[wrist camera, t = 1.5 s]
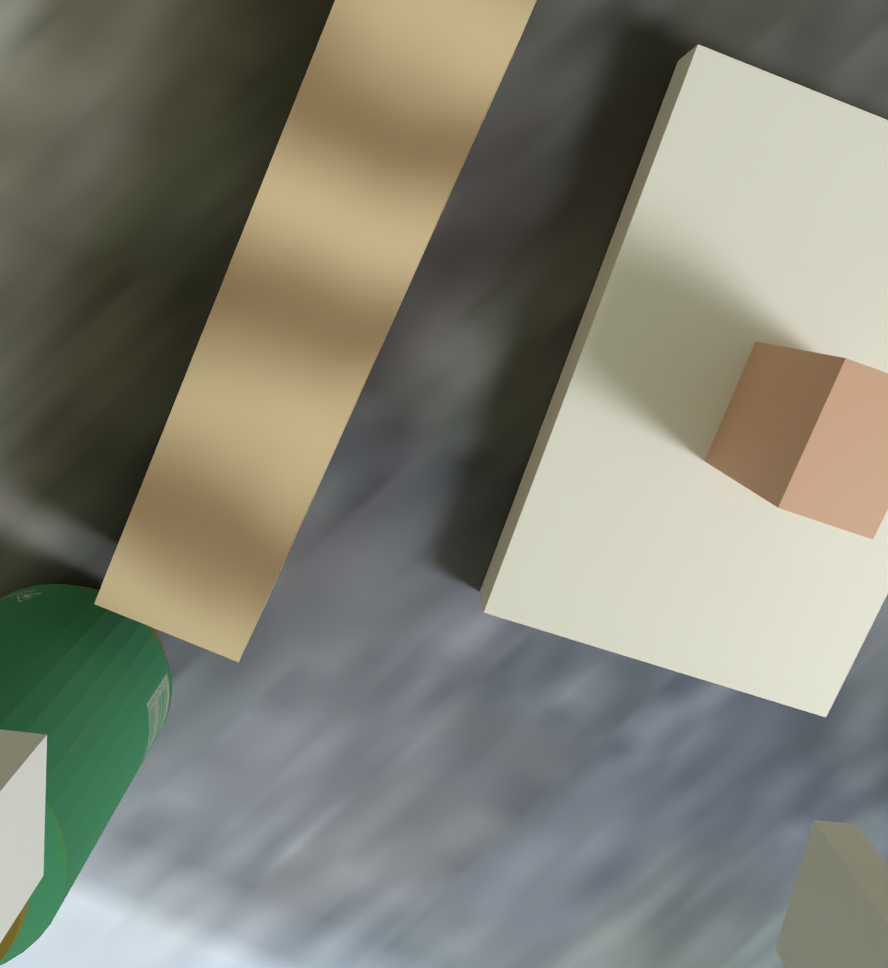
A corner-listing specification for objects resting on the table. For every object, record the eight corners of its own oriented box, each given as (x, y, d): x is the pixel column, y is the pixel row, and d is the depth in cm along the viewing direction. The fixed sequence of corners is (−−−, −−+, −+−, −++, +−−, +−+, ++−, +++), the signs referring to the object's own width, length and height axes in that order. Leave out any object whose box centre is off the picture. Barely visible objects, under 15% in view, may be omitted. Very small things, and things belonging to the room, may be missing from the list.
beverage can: (10, 776, 33) (-211, 1046, 21) (-57, 595, 31) (-341, 785, 19) (202, 738, 33) (86, 990, 21) (147, 555, 31) (-16, 722, 19)
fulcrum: (479, 591, 32) (500, 693, 24) (677, 61, 27) (781, -26, 20) (802, 691, 33) (919, 817, 25) (1039, 204, 29) (1268, 176, 21)
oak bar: (265, 604, 32) (238, 662, 27) (144, 553, 31) (94, 603, 26) (515, 48, 27) (537, -1, 22) (379, -25, 27) (371, -93, 22)
